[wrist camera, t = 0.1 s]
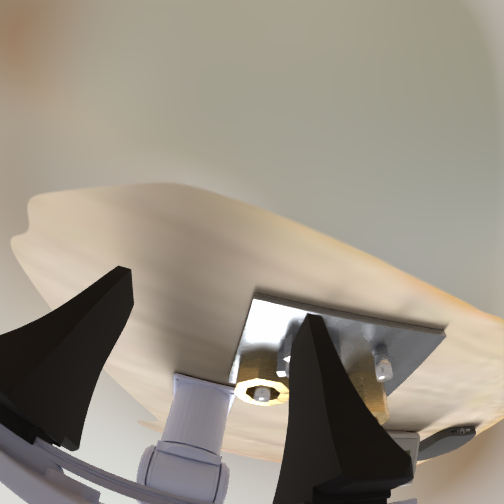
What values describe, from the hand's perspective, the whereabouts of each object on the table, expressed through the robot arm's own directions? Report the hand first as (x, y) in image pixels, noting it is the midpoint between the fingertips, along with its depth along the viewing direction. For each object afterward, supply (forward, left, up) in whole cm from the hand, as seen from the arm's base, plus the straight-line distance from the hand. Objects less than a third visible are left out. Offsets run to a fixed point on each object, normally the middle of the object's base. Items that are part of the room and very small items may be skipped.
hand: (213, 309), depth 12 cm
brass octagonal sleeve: (-18, -17, -9) cm, 26 cm away
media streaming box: (-42, -53, -11) cm, 68 cm away
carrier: (-15, -12, -10) cm, 22 cm away
